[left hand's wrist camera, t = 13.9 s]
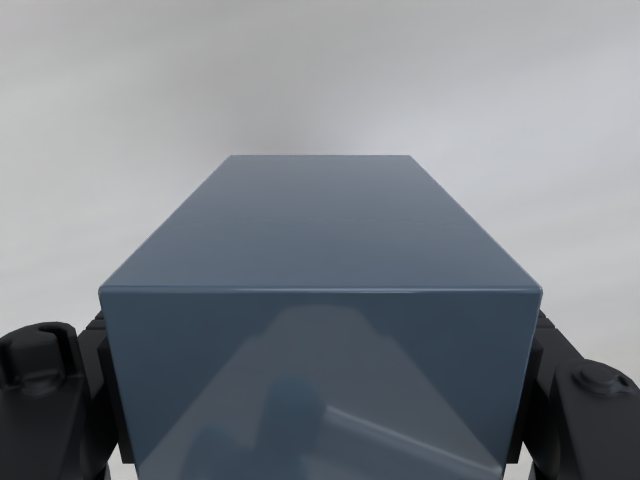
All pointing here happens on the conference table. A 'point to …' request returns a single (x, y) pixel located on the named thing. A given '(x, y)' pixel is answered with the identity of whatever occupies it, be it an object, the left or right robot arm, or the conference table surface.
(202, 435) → the block
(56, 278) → the conference table surface
